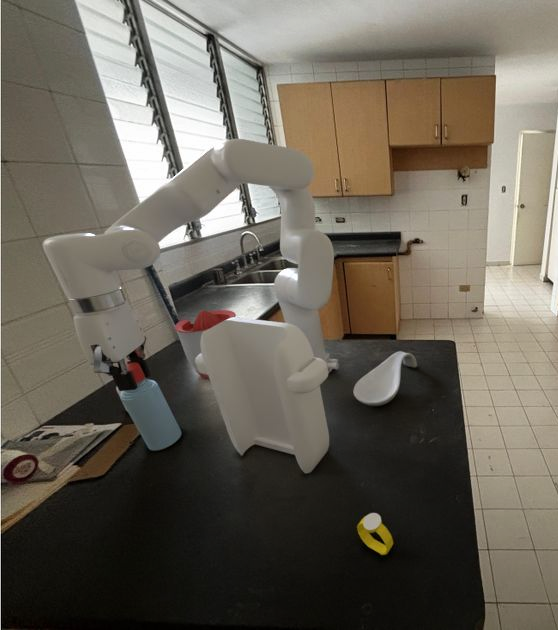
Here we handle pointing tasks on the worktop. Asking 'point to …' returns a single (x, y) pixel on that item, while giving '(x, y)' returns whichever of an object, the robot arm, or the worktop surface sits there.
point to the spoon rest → (383, 380)
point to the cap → (135, 371)
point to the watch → (375, 525)
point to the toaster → (267, 387)
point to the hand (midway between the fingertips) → (135, 382)
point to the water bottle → (151, 415)
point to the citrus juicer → (199, 332)
